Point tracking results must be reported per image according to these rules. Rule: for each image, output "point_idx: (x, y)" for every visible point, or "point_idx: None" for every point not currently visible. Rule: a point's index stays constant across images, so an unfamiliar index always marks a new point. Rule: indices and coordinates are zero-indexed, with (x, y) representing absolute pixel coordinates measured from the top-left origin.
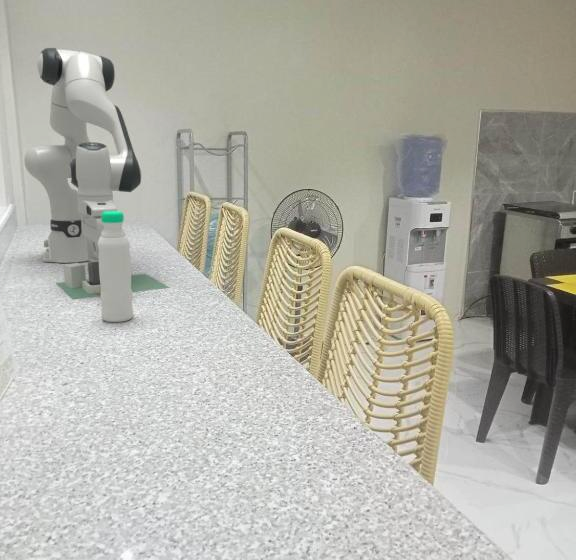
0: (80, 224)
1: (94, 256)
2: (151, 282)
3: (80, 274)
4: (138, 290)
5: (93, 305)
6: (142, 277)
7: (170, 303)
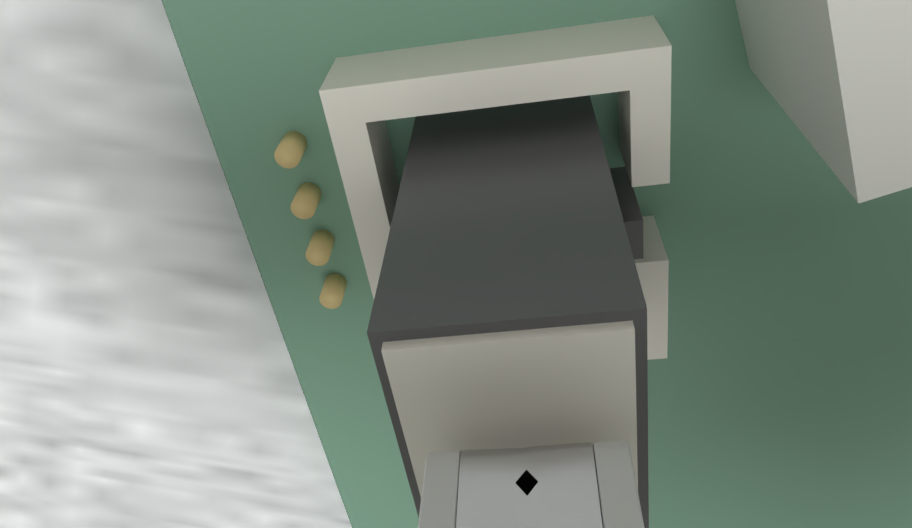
0: None
1: (600, 442)
2: None
3: (787, 65)
4: (346, 442)
5: (47, 45)
6: None
7: (70, 514)
